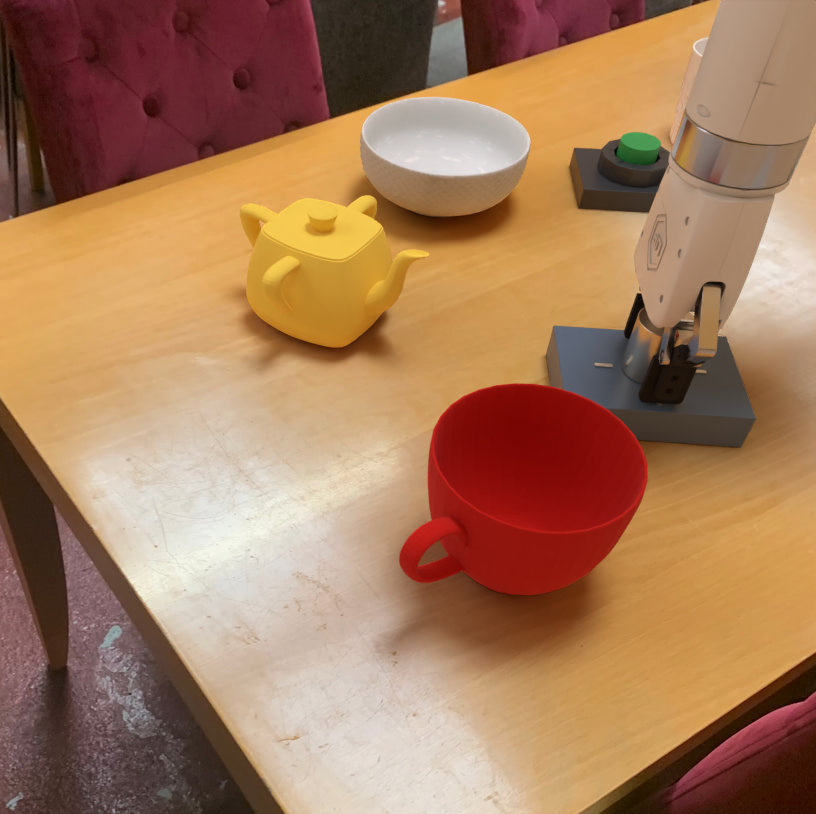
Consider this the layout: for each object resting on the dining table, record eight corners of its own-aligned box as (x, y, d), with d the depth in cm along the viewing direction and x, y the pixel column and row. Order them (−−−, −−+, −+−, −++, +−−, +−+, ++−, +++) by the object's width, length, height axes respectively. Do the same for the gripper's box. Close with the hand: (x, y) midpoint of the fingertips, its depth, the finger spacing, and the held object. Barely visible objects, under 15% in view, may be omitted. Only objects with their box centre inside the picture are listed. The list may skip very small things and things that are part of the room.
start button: (652, 149, 93) (657, 132, 92) (659, 168, 90) (664, 151, 89) (613, 147, 93) (618, 130, 92) (619, 165, 91) (623, 149, 89)
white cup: (740, 161, 99) (777, 68, 91) (667, 155, 100) (698, 62, 92) (729, 129, 104) (763, 39, 97) (660, 124, 105) (688, 33, 97)
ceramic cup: (330, 568, 60) (335, 464, 53) (506, 462, 67) (533, 356, 60) (464, 705, 53) (492, 607, 46) (645, 571, 60) (695, 467, 53)
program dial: (617, 349, 71) (634, 298, 68) (672, 353, 71) (693, 301, 68) (626, 385, 68) (644, 333, 65) (684, 388, 68) (706, 337, 65)
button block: (671, 172, 97) (683, 136, 94) (687, 215, 91) (700, 178, 88) (569, 166, 98) (577, 130, 95) (578, 209, 92) (588, 172, 89)
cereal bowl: (465, 262, 85) (476, 193, 80) (324, 205, 92) (327, 138, 86) (546, 191, 94) (561, 125, 89) (413, 144, 101) (420, 80, 95)
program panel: (713, 365, 75) (727, 334, 73) (741, 447, 68) (757, 417, 66) (545, 354, 76) (553, 323, 73) (557, 434, 69) (566, 403, 67)
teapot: (387, 270, 84) (396, 166, 76) (416, 355, 75) (431, 247, 68) (242, 280, 83) (236, 175, 75) (255, 368, 74) (251, 259, 66)
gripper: (653, 85, 62) (589, 300, 76) (703, 214, 51) (617, 441, 64) (763, 91, 62) (679, 306, 75) (839, 222, 50) (723, 449, 64)
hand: (651, 366), depth 69 cm, fingers open, 7 cm apart
